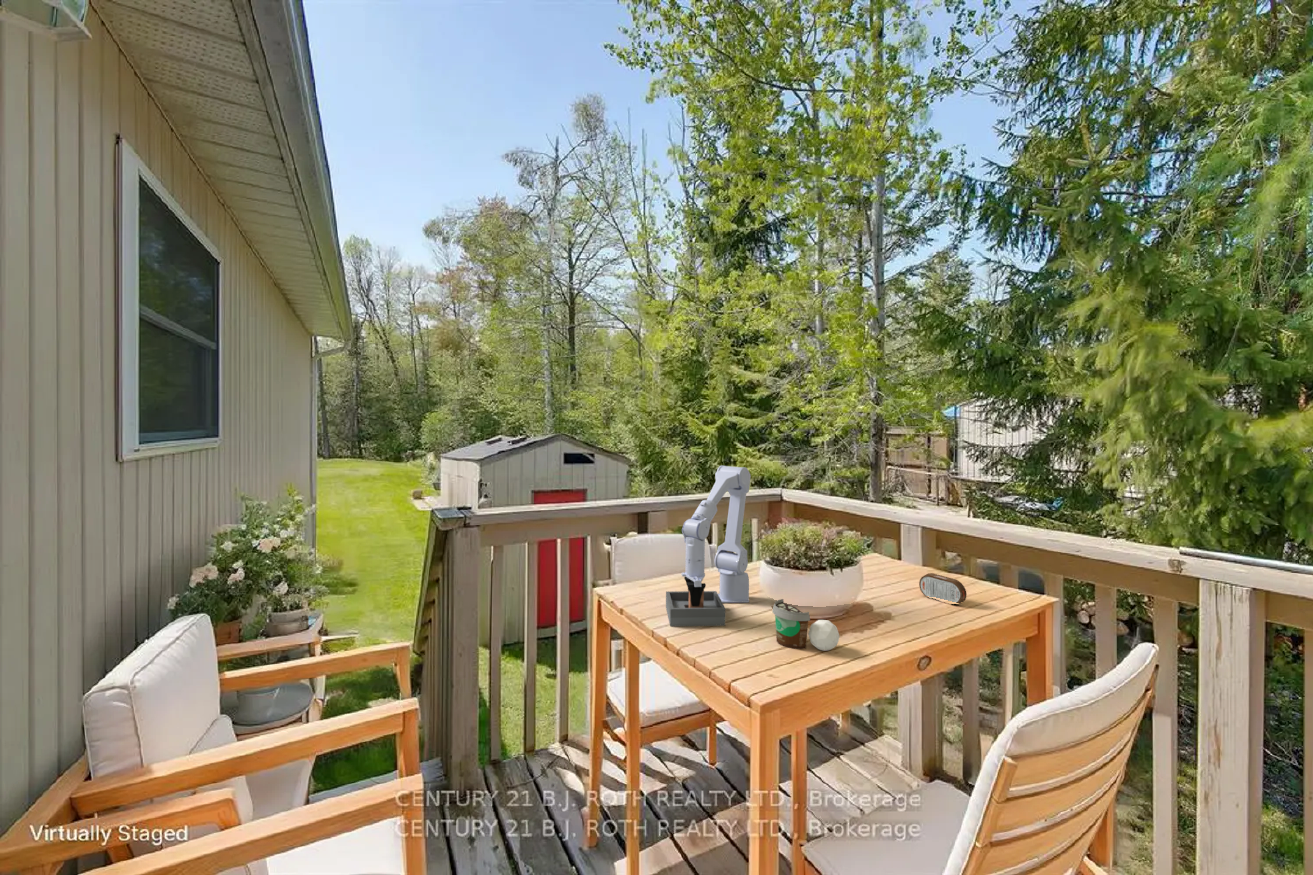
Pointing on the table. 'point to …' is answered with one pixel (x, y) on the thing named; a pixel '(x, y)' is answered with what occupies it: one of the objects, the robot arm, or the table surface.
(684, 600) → the hole box
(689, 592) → the peg
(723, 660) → the table surface
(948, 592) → the tin
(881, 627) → the table surface
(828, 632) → the ball
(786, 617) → the food container
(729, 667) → the table surface
